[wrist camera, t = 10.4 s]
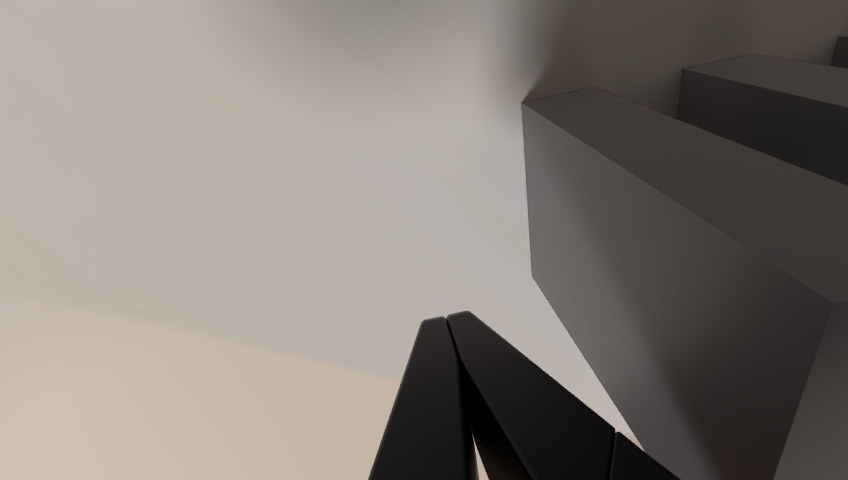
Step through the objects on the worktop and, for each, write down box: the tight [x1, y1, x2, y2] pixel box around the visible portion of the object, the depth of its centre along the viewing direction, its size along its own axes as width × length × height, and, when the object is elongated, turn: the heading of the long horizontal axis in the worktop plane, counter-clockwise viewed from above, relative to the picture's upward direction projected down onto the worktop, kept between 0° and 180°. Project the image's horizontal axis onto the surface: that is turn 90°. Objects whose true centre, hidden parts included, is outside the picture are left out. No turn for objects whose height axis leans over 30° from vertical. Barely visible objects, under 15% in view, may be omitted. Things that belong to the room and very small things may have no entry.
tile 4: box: [677, 54, 848, 186], centre depth 9 cm, size 2×5×8 cm, turn 9°
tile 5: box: [521, 87, 848, 480], centre depth 9 cm, size 2×5×8 cm, turn 10°
